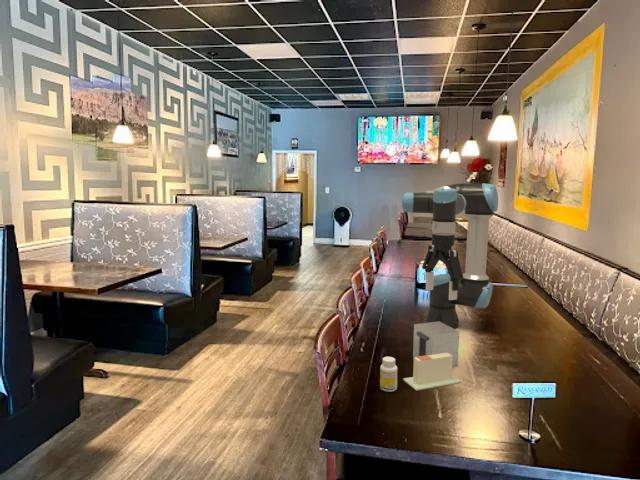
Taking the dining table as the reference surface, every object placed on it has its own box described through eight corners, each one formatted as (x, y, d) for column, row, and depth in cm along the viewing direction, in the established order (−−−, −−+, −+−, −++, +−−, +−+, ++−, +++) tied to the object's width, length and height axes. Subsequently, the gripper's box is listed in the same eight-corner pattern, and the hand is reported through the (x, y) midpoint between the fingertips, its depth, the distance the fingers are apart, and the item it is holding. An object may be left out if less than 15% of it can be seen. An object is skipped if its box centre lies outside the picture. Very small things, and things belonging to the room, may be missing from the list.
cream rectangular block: (446, 375, 150) (447, 351, 149) (451, 378, 148) (452, 355, 146) (412, 380, 146) (413, 357, 145) (417, 384, 143) (418, 360, 142)
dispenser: (437, 354, 170) (439, 321, 168) (457, 366, 159) (459, 331, 157) (411, 358, 166) (412, 324, 164) (429, 371, 155) (431, 335, 153)
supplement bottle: (385, 382, 146) (386, 354, 144) (400, 387, 142) (401, 358, 141) (376, 388, 141) (377, 359, 140) (391, 393, 138) (392, 363, 137)
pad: (446, 372, 153) (446, 371, 153) (460, 382, 146) (460, 381, 146) (403, 379, 148) (403, 378, 148) (416, 390, 140) (416, 389, 140)
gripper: (413, 230, 161) (411, 287, 164) (457, 239, 138) (453, 305, 141) (431, 229, 164) (429, 285, 167) (476, 238, 141) (473, 302, 143)
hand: (440, 294), depth 154 cm, fingers open, 13 cm apart
